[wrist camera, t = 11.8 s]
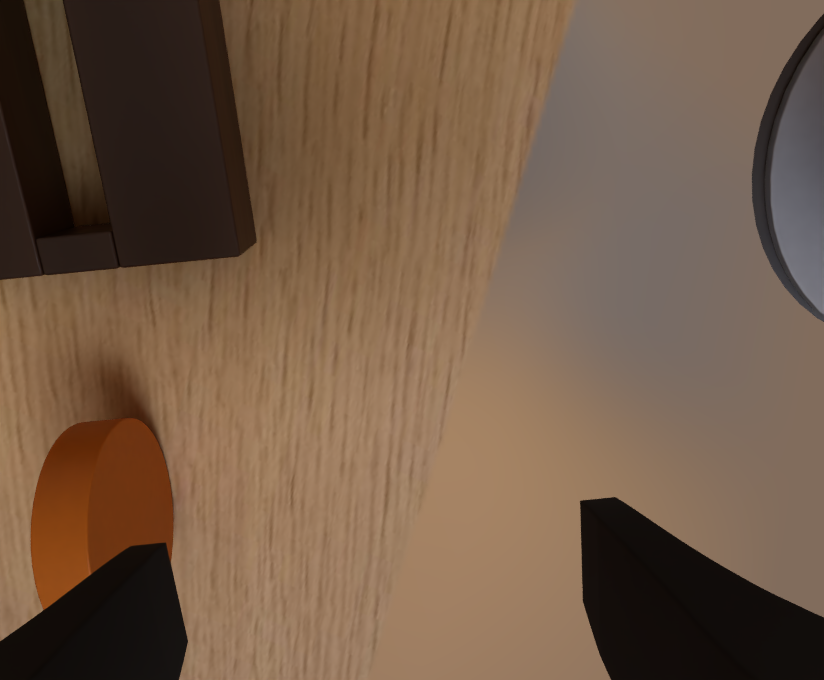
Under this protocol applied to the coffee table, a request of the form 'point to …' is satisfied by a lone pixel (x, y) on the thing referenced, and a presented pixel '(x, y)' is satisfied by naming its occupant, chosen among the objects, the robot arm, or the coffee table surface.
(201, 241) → the holder
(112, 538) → the token
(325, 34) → the coffee table surface
